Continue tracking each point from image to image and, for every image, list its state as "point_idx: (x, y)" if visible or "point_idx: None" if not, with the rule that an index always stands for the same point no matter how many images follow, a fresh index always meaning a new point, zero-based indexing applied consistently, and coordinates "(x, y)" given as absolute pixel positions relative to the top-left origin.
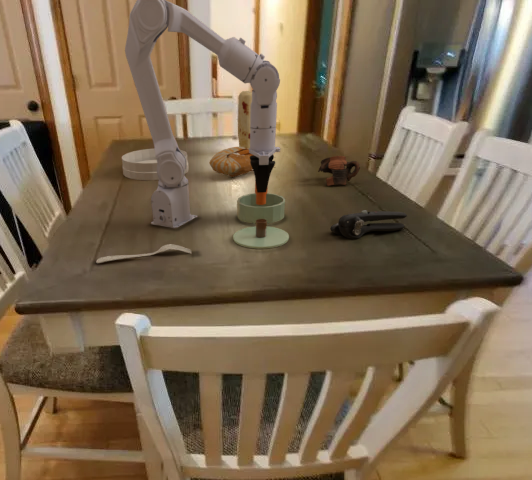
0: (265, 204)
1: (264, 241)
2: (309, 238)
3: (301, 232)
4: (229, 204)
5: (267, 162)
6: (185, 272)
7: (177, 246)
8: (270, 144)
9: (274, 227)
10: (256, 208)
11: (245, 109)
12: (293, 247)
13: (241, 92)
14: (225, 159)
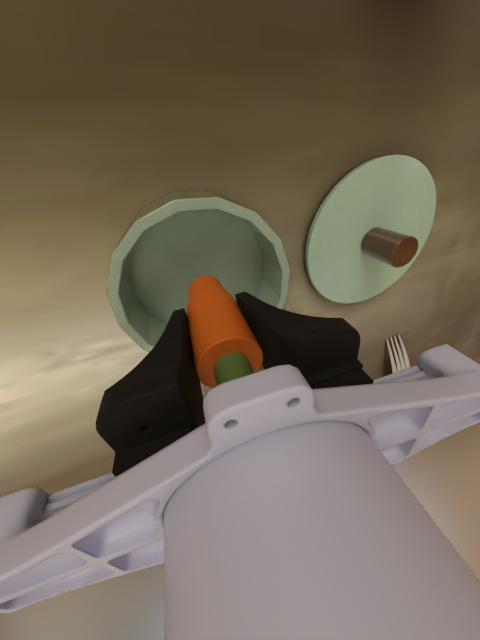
0: (125, 280)
1: (406, 225)
2: (377, 70)
3: (323, 107)
4: (100, 379)
5: (459, 355)
6: (447, 325)
7: (395, 365)
8: (404, 482)
9: (322, 212)
10: (287, 290)
11: None
12: (424, 136)
13: None
14: None
